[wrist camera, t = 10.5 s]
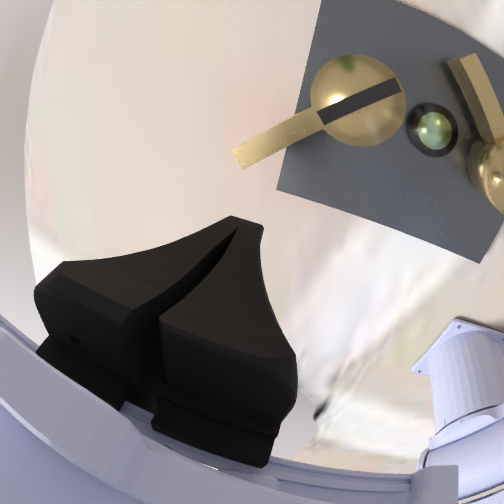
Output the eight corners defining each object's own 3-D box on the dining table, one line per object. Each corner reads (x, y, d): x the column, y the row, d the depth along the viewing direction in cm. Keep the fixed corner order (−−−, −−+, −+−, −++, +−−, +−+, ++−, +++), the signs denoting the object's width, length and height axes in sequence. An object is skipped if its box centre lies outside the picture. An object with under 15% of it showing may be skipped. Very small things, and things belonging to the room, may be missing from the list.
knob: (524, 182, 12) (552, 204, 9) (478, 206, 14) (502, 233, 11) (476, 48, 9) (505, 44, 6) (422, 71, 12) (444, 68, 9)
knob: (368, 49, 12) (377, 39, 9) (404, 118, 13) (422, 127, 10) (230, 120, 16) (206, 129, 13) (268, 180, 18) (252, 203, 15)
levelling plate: (537, 92, 10) (552, 96, 8) (474, 255, 18) (482, 269, 16) (326, -13, 11) (325, -23, 10) (279, 183, 19) (273, 193, 18)
